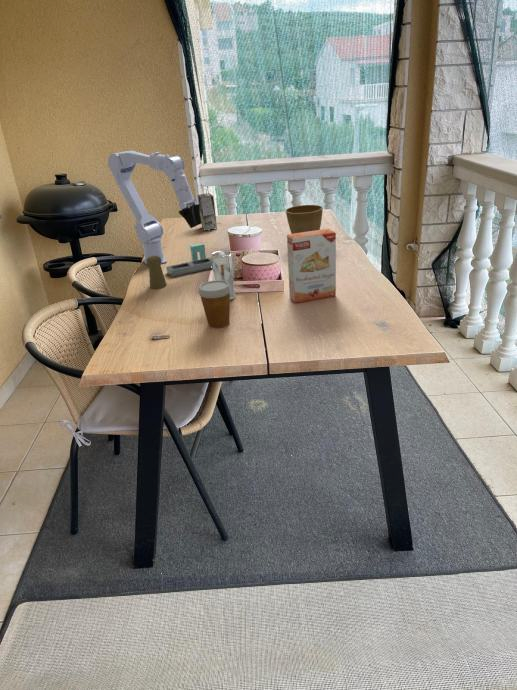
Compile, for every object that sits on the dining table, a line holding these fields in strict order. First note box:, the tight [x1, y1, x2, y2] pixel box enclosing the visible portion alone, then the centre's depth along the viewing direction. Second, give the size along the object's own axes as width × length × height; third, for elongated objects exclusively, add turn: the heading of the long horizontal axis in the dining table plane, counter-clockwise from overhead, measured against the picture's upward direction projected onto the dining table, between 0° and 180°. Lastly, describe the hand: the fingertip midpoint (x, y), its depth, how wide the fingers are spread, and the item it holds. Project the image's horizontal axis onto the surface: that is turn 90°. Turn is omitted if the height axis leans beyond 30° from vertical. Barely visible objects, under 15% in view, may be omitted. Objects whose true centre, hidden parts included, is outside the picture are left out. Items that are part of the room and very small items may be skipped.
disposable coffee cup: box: [197, 279, 231, 329], centre depth 151 cm, size 10×10×12 cm
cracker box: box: [286, 228, 337, 304], centre depth 161 cm, size 14×6×21 cm, turn 105°
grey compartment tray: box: [166, 257, 212, 278], centre depth 200 cm, size 6×18×2 cm, turn 116°
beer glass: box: [211, 250, 237, 301], centre depth 168 cm, size 7×7×15 cm
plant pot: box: [285, 204, 324, 234], centre depth 212 cm, size 15×15×16 cm
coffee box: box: [197, 192, 218, 231], centre depth 254 cm, size 9×6×16 cm
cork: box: [146, 256, 167, 290], centre depth 185 cm, size 6×6×11 cm
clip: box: [189, 242, 207, 261], centre depth 208 cm, size 2×5×7 cm, turn 116°
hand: (196, 225), depth 194 cm, fingers open, 7 cm apart
